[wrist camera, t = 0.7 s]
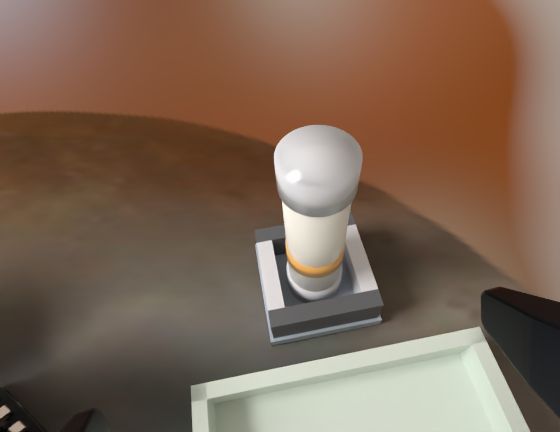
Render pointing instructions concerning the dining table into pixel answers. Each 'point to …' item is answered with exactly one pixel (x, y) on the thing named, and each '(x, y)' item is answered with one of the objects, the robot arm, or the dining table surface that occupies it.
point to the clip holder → (325, 313)
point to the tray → (369, 392)
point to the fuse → (316, 205)
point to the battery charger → (15, 415)
